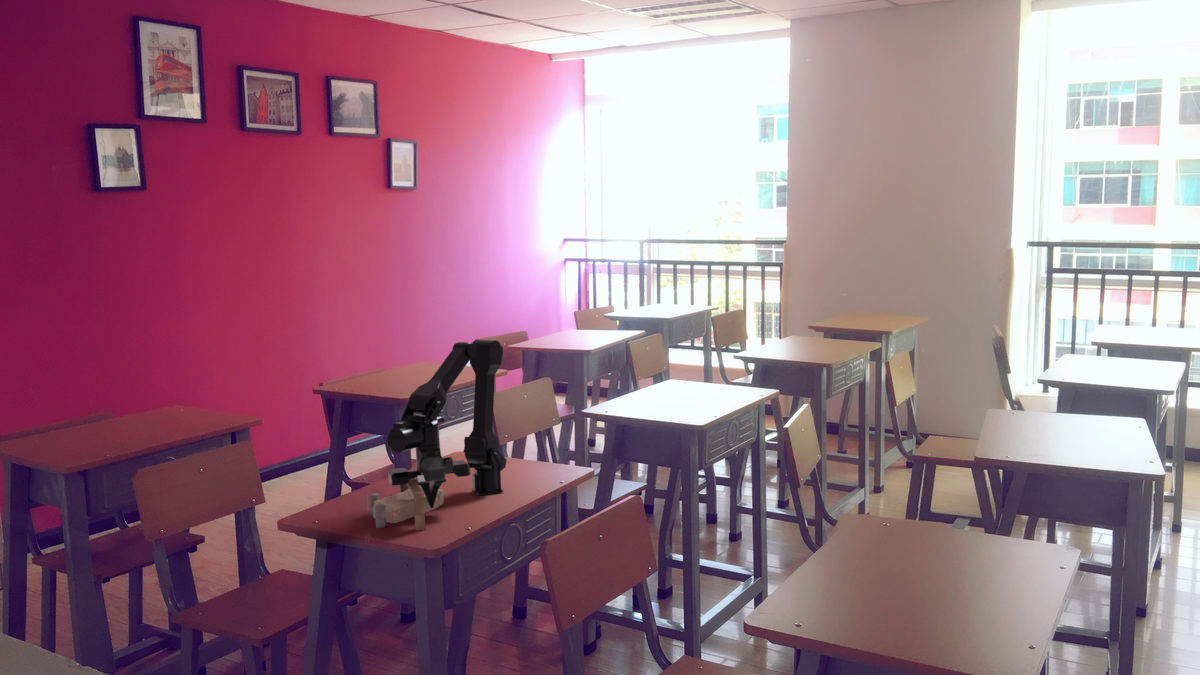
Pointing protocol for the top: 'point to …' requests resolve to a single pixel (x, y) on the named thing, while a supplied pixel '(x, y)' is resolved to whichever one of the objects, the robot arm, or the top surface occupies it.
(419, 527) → the shelf frame
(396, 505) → the brick
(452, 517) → the top surface
